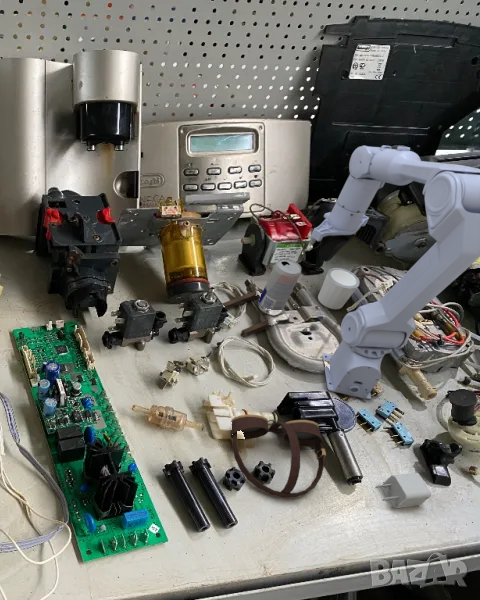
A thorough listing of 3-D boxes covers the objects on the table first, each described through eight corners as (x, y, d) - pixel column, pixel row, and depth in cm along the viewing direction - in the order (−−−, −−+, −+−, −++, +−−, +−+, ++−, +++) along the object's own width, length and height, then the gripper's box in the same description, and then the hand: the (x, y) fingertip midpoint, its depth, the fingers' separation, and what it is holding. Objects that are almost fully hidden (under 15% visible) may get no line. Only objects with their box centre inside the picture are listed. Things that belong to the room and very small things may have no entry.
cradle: (258, 293, 119) (261, 288, 118) (287, 319, 113) (290, 314, 112) (215, 310, 113) (216, 305, 112) (243, 338, 108) (245, 333, 107)
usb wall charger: (418, 506, 84) (432, 494, 81) (380, 511, 83) (393, 499, 80) (404, 483, 87) (416, 471, 84) (366, 487, 86) (378, 475, 83)
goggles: (309, 430, 92) (336, 408, 84) (322, 508, 85) (353, 492, 77) (223, 421, 92) (241, 398, 84) (228, 498, 85) (249, 482, 77)
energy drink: (272, 297, 118) (292, 256, 110) (286, 314, 114) (307, 272, 106) (252, 301, 116) (270, 259, 108) (265, 318, 113) (285, 276, 105)
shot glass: (308, 294, 120) (320, 271, 115) (330, 287, 122) (343, 264, 118) (330, 314, 116) (343, 290, 111) (352, 307, 118) (366, 283, 113)
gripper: (359, 187, 109) (332, 240, 118) (311, 201, 103) (286, 255, 113) (388, 205, 105) (357, 258, 114) (339, 220, 99) (311, 275, 108)
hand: (324, 258), depth 113 cm, fingers closed
